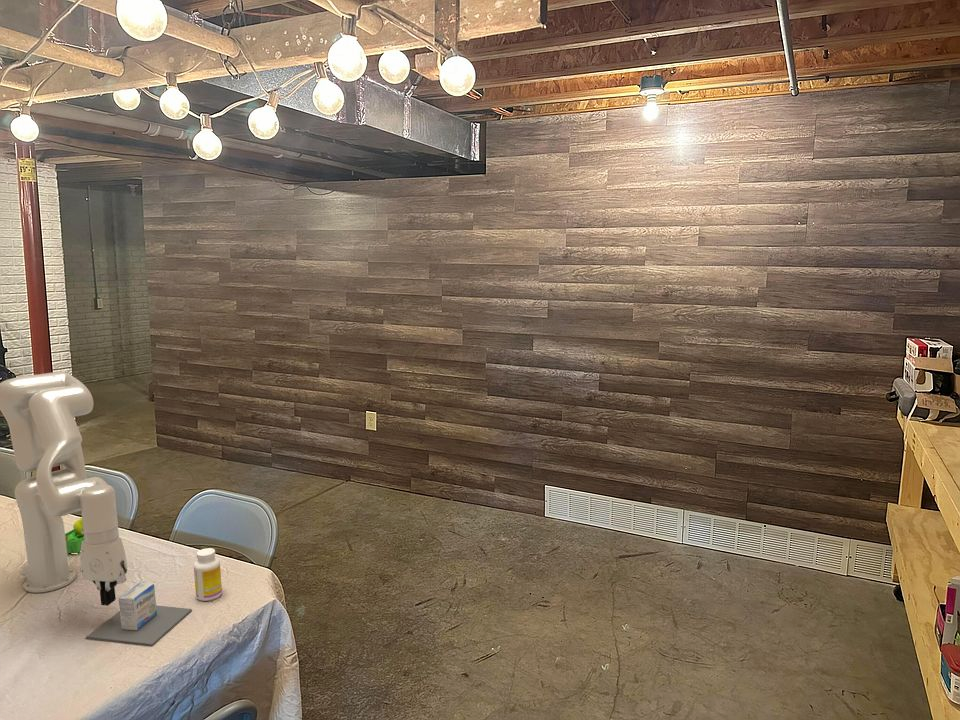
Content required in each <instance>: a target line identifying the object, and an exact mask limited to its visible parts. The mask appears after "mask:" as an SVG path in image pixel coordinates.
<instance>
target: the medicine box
mask: <svg viewBox="0 0 960 720" xmlns="http://www.w3.org/2000/svg"><path fill="white" fill-rule="evenodd" d="M155 587H156V586H155V584H154V583H150V582H149V583H148V582H139V583H137V584H136V585H135V586H133V587H132V588H131V589H129V590H128V591H127V592H125V593H124V594H122V595H121V596H120V597H118V606H119V607H118V608H119V611H120V617H121V626H122V629H125V630H136V631H138V630H139V629H140V628H141V627H142V626H144V625H145V624H146V623H147V622H148V621H149V620H151V619H152V618H153V617H154V616H155V615H156V614H157V608H156V605H157V600H156V588H155Z"/></svg>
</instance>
